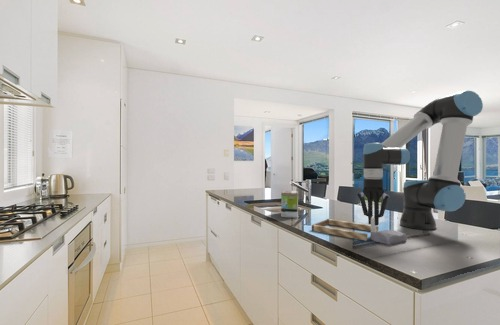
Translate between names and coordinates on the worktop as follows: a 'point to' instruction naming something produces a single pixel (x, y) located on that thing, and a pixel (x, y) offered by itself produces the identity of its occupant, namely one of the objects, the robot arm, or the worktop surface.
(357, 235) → the channel
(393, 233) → the stone block
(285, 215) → the tea box
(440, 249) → the worktop surface
